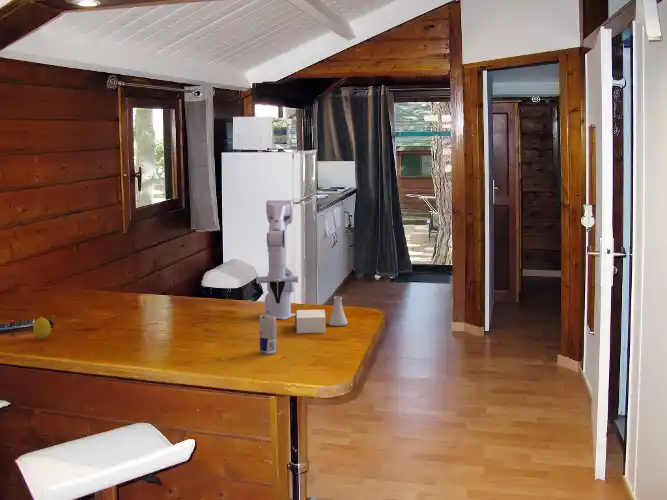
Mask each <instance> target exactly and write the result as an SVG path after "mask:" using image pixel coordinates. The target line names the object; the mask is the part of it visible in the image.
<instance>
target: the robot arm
mask: <svg viewBox="0 0 667 500" xmlns="http://www.w3.org/2000/svg"><path fill="white" fill-rule="evenodd" d="M265 202H266V203H265V204H266V205H265V210H266V211H265V212H266V213H265V214H266V217H267V218H266V219H267V221H268V224H269V227H268V232H266V246H267V253H268V273H267V275H266V276H256V280H255V282H256V284H259V285H260V284H266V286H267V287H266V289H267V293H266V295H265V297H264V314H273V315H275V317H276V320H277V319H278V320H282V321H283V320H287V319H289V318H292V317H295V316H296V313H292V308H291V307H292V303H291V302H292V301H291V299H292V298H291V293H293V292H294V290H295V284H297V283H299V276H297V275H296V276H295V275H294V272H293V271H292V270H291V269H290V268H288V267H287V229H288V226H289V225H290V224H292V223H293V219H294V218H293V215H294V210H293V209H294V206H293V205H294V204H293V203H294V202H293V200H292V199H283V200H281V199H279V200H269V199H267V201H265Z"/></svg>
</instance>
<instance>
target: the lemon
mask: <svg viewBox="0 0 667 500" xmlns="http://www.w3.org/2000/svg"><path fill="white" fill-rule="evenodd" d="M32 328H33V329H32V330H33V333H34V335H35V337H36V338H39V339H41V340H42V339H43V340H45V339H46V338H47V337H48V336H49V335H50V334H51V324H50V322H49V320H48V319H47V318H45V317H43V316H40V317H39V318H37V319H36V320H35V321H34V322H33V327H32ZM44 338H45V339H44Z"/></svg>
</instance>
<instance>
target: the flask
mask: <svg viewBox="0 0 667 500" xmlns="http://www.w3.org/2000/svg"><path fill="white" fill-rule="evenodd" d="M342 300H343V297H342V296H338V295H337V296H333V308H332V311H331V314H330V317H329V319H328V323H327V324H328V325H329V326H331V327H342V326H347V325H348V324H349V323H348V320H347V317H346V314H345V311H344V309H343V303H342V302H343V301H342Z"/></svg>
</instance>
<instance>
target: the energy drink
mask: <svg viewBox="0 0 667 500" xmlns="http://www.w3.org/2000/svg"><path fill="white" fill-rule="evenodd" d="M258 324H259V325H258V329H259V332H258V334H259V352H260V354H261V355H267V356H271V355H274V354H276V353H277V352H278V349H277V348H278V346H277V345H278V343H277V337H278V336H277V319H276V317H275V315H273V314H265V313H264V314H263V313H262V314H260V315H259V317H258Z"/></svg>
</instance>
